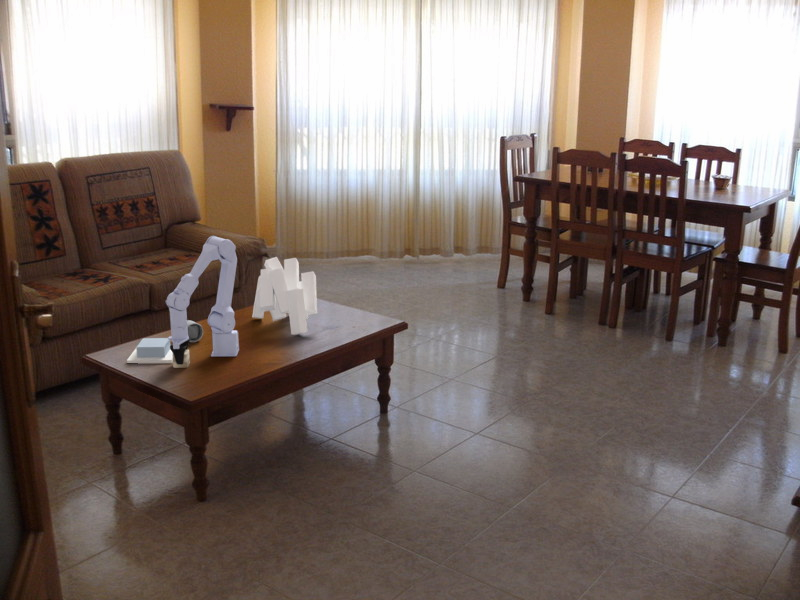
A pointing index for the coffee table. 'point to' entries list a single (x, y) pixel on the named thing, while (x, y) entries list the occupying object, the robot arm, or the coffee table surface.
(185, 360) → the birch cube
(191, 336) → the ceramic mug
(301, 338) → the coffee table surface
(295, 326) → the pile of blocks
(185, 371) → the coffee table surface
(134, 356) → the plinth base
